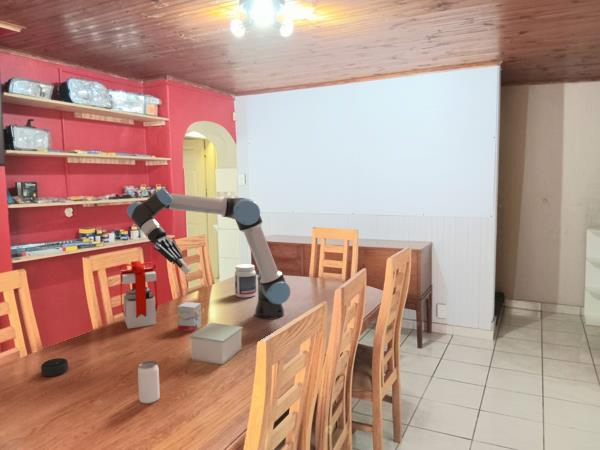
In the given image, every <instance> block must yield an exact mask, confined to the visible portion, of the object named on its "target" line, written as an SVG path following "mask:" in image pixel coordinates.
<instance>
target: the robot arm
mask: <svg viewBox="0 0 600 450" xmlns="http://www.w3.org/2000/svg"><path fill="white" fill-rule="evenodd" d="M164 209H166V210H168V209H169V210H175V211H183V212H184V211H185V212H195V213H201V214H202V213H204V214H212V215H221V217H223V218H228V219H232V220H234V221H235V222H236V225H237V228H238V230H239V231H240V232H242V233H243V234H244V236H245V239H246V241H247V244H248V246H249V249H250V251H251V254H252V256H253V260H254V262H255V263H256V267H257V270H258V271H259V272H258V273H257V297H258V298H257V304H256V305H255V306H256V307H255V310H254V315H255V317H256V318H258V319H262V320H263V319H264V320H270V319H271V320H274V319H279V318H281V317H283V316H284V314H285V313H284V312H285V311H284V310H285V309H284V306H283V304H284V303H286V302H287V301H288V299H289V298H290V296H291V288H290V286H289V284H288V283H287V282H286V279H285V276H284V274H283V272H282V271H281V270H279V269H278V266H277V265H276V262H275V259H274V257H273V255H272V252H271V249H270V247H269V244H268V242H267V239H266V237H265V234H264V231H263V229H262V224H263V220H262V216H261V210H260V206H259V204H258V203H256V201H254V200H252V199H251V198H247V197H246V198H245V197H224V198H214V197H205V196H199V195H198V196H197V195H188V194H179V193H170V192H168V190H166V188H164V187H161V188H160V189H157V190H156V191H154V192H152V193H151V194H150V195H149V198H147V199H145V201H143V202H141V201H139V200H138V201H134V202H133V203H131V204H129V206H128V207H127V208H126V214H127V215H128V216H129V218H130V220H132V221H133V222H134V225H136V226H137V227H138V228H139V230H140V231H141V232H142V233H143V235H144V236H146V237H147V239H148V241H149V242H151V244H153V245H154V246H153V249H154V250H155V251H157V252H158V253H160V255H162V256H163V257H164V258H165V259H166V260H167V261H168V262H169V263H172V265H176V266H177V267H178V268H179V269H180V270H181V271H182V272H183V273H184V275H188V273H189V272H190V271H191V268H190V267H189V266H188V265H187V262H185V261H184V258H183V257H184V254H183V253H182V251H181V249H180V247H179V246H178V245H177V243H176V240H175V239H173V240H170V238H169V237H168V236H167V232H166V231H165V229H164V228H163V227H162V226H161V223H159V222H158V221H157V220H156V219H155V216H156V215H157V214H158V213H159V212H161V211H162V210H164Z"/></svg>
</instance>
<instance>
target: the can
mask: <svg viewBox="0 0 600 450" xmlns="http://www.w3.org/2000/svg"><path fill="white" fill-rule="evenodd" d="M159 371H160V369H159V365H158V362H157V361H154V360H146V361H143V362H141V363H140V364H138V369H137V380H138V381H137V383H138V386H137V387H138V401H139V402H140V403H142V404H145V405H146V404H147V405H148V404H153V403H156V402H157V401H158V400H159V399H160V396H161V395H160V392H161V391H160V375H159V374H160V372H159Z"/></svg>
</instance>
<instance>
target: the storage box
mask: <svg viewBox="0 0 600 450" xmlns="http://www.w3.org/2000/svg"><path fill="white" fill-rule="evenodd" d="M190 343H191V344H190V345H191V346H190V351H191V360H192V361H197V362H203V363H208V364H209V363H210V364H216V365H225V364H226V363H227V362H229V360H231V359H232V358H233V357H234V356H235V355H237V354H238V353H239V352H240V351H241V349H242V330H240V331H239V332H238V333H236V334H235V335H233V336H232V337H231V338H229V339H228V340H226V341H225V342H224V343H220V342H214V341H208V340H202V339H195V338H190ZM231 357H232V358H231ZM225 362H226V363H225Z"/></svg>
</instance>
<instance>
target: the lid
mask: <svg viewBox="0 0 600 450" xmlns="http://www.w3.org/2000/svg"><path fill="white" fill-rule="evenodd" d="M240 330H241V331H242V330H243V326H239V325H230V324H226V323H225V324H224V323H217V322H210V323H209V324H207V325H205V326H204V327H202V328H200V329H197V331H194V332H193V333H192V334H190V335H189V338H190V339H191V338H195V339H202V340H208V341H214V342H220V343H224V342H225V341H226V340H228V339H229V338H231V337H232V336H233V335H235V334H236V333H238V332H239V331H240Z"/></svg>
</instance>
